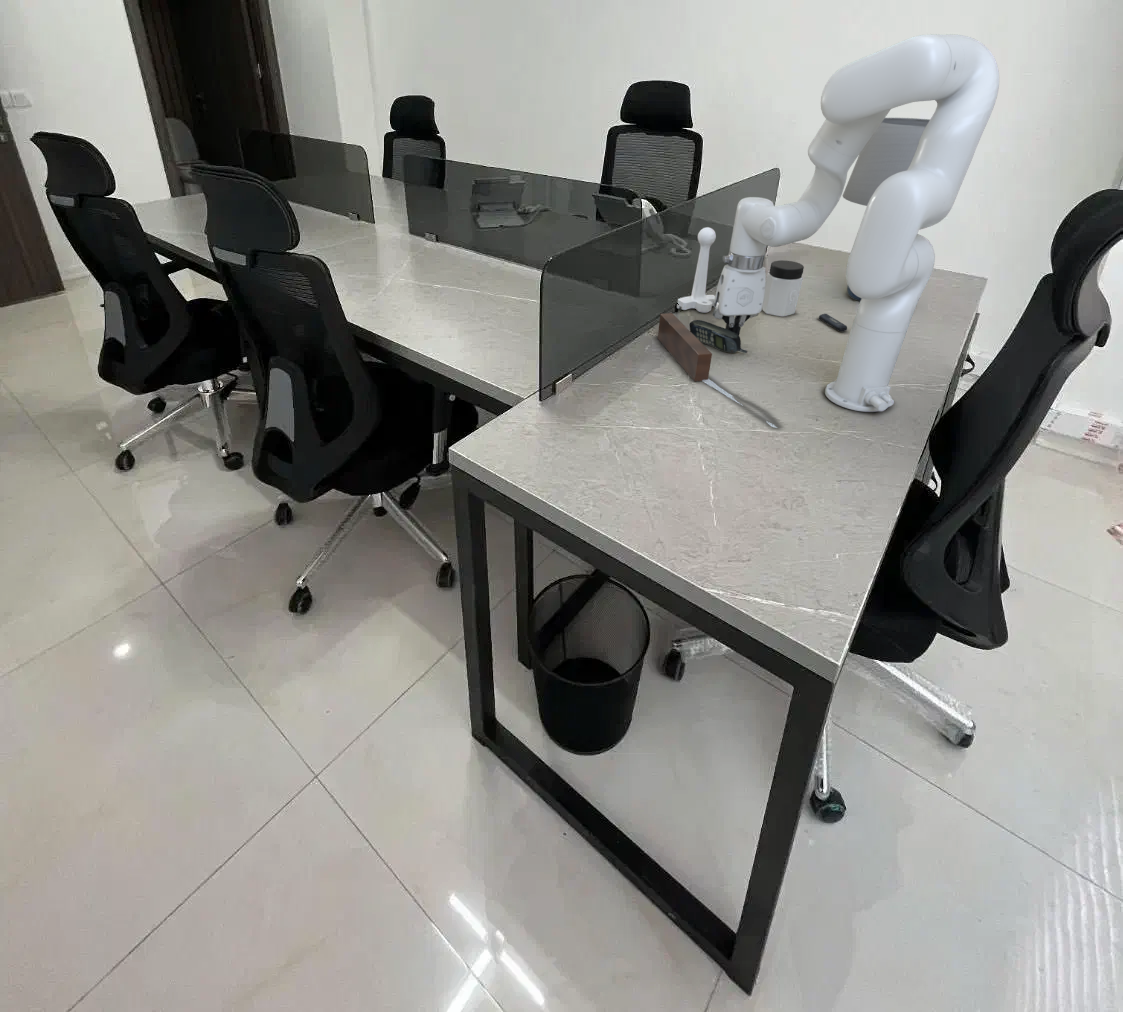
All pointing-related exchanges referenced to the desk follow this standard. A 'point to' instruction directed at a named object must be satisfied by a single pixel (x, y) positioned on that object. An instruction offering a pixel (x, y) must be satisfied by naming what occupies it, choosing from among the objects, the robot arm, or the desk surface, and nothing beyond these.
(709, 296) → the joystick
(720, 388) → the butter knife
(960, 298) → the desk surface
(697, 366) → the wooden block
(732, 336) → the mobile phone
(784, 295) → the jar
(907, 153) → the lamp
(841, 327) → the usb stick
